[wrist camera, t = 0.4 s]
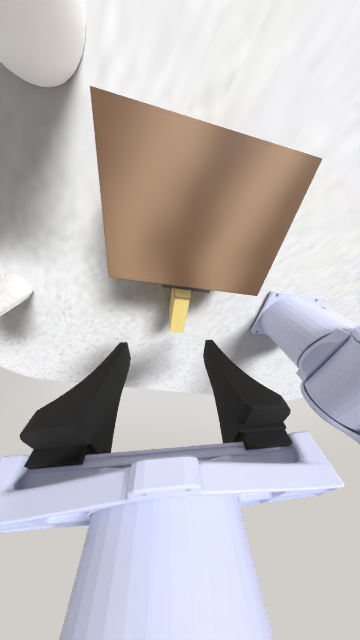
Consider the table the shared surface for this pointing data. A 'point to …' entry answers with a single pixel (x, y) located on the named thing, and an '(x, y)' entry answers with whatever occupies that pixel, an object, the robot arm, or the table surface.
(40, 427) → the robot arm
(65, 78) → the cup
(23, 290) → the milkshake
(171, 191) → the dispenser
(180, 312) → the ticket
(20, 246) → the table surface
